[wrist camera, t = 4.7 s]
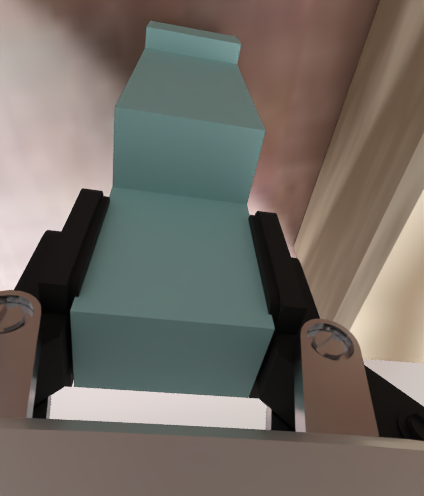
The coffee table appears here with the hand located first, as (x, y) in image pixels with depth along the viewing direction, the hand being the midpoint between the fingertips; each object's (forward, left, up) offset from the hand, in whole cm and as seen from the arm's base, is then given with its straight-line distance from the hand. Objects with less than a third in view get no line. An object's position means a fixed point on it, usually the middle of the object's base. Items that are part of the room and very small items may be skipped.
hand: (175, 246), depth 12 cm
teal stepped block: (0, 0, -11) cm, 11 cm away
